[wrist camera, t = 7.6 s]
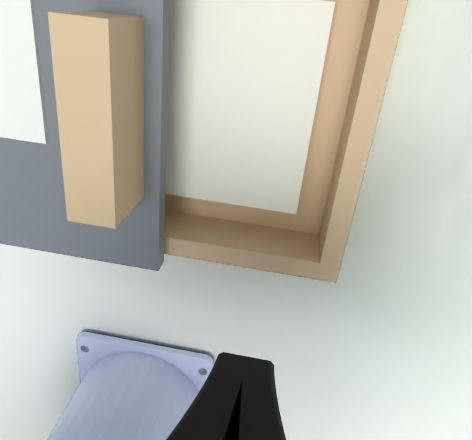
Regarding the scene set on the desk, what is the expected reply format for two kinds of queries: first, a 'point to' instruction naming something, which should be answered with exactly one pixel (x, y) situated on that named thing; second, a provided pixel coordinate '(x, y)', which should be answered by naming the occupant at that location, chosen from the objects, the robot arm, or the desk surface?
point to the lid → (84, 128)
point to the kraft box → (272, 127)
